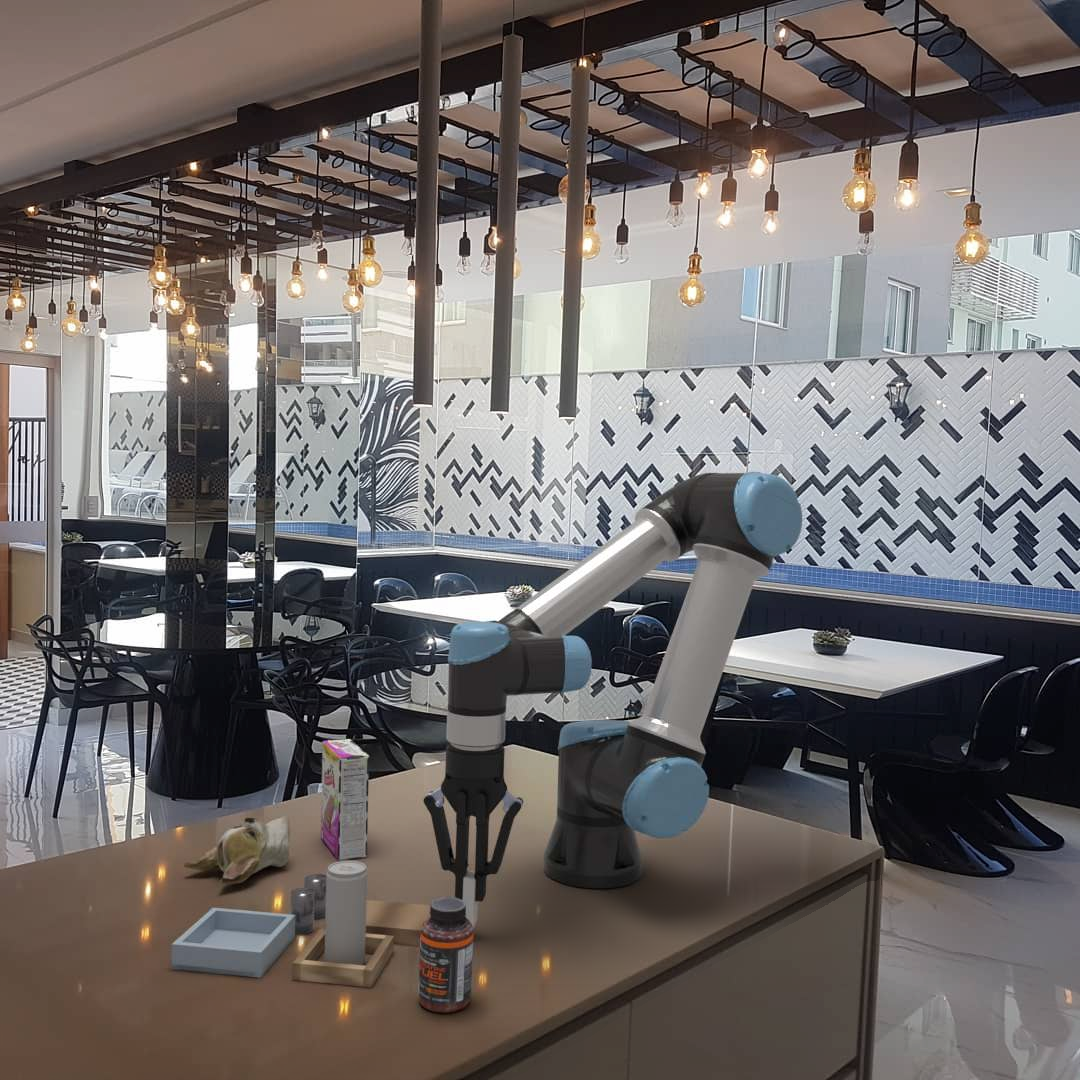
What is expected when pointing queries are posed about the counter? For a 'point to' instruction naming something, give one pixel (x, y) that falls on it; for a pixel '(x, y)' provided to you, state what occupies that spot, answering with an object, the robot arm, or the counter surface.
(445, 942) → the supplement bottle
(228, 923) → the tray
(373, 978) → the collar
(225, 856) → the ceramic sculpture
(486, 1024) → the counter surface
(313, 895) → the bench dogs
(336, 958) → the beverage can
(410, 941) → the board
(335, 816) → the candy bar box
